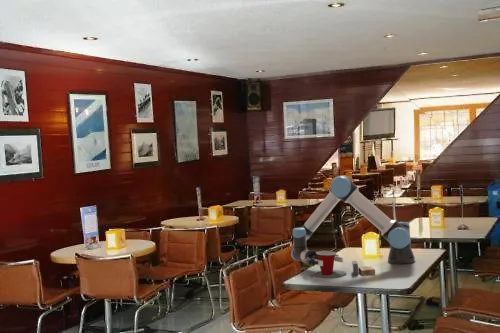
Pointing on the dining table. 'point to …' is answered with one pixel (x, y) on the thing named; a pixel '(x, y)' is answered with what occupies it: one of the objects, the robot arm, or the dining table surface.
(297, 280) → the dining table surface
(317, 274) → the mat
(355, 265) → the bench dog
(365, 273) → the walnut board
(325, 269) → the plastic cup
